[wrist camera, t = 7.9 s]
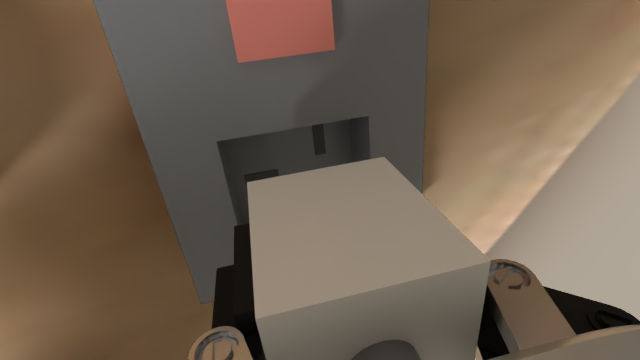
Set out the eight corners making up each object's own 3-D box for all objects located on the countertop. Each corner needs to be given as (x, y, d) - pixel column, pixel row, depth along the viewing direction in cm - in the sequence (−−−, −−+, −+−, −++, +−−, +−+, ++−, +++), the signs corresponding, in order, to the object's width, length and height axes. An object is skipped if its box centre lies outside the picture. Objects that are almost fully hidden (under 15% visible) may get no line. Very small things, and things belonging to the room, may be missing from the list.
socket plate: (394, 219, 22) (427, 260, 19) (206, 260, 20) (199, 316, 17) (392, -85, 15) (445, -118, 11) (102, -63, 13) (49, -94, 9)
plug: (385, 262, 15) (533, 509, 7) (271, 289, 14) (308, 592, 7) (384, 156, 13) (594, 362, 5) (246, 182, 12) (263, 464, 4)
